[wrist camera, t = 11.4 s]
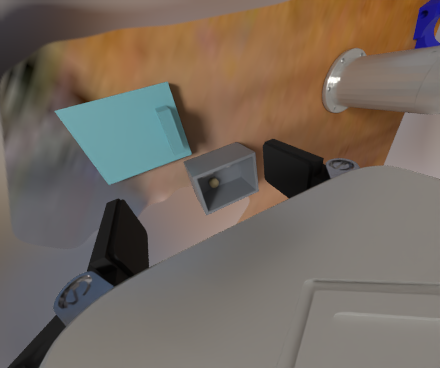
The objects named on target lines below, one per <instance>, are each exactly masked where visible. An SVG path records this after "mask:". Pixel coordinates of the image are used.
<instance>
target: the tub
mask: <svg viewBox="0 0 440 368" xmlns="http://www.w3.org/2000/svg"><path fill="white" fill-rule="evenodd" d="M184 165H185V168H186V170H187V173H188V176H189V178H190V181H191V184H192V186H193V189H194V192H195V194H196V197H197V199H198V201H199V202H200V204H201V206H202V208H203V210H204V212H205V214H206V215H208V214H211V213H212V212H215V211H217V210H219V209H221V208H223V207H225V206H228V205H230V204H232V203H234V202H236V201H239V200H241V199H243V198H245V197H247V196H249V195H251V194H254V193H256V192H258V191H259V189H258V178H257V167H256V156H255V152H254V151H252V150H250V149H249V148H247V147H245V146H243V145H241V144H240V143H238V142H235V143H233V144H230V145H227V146H225V147H222V148H219V149H217V150H214V151H211V152H209V153H206V154H203V155H201V156H198V157H195V158H192V159H190V160H187V161H184Z"/></svg>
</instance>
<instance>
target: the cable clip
mask: <svg viewBox="0 0 440 368" xmlns="http://www.w3.org/2000/svg"><path fill="white" fill-rule="evenodd" d="M439 17H440V0H430V1H429V2H428V3H426V4H425V5H423V6H422V7H421V8H420V10H419V14H418V19H417V24H416V29H415V33H414V38H413V39H417V42H416V46H415V49H419V48H426V47H433V46H440V43H439V42H438V41H436V39H435V37H434V27H435V24H436V22H437V20H438V19H439Z"/></svg>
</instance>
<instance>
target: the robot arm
mask: <svg viewBox="0 0 440 368" xmlns="http://www.w3.org/2000/svg"><path fill="white" fill-rule="evenodd" d="M322 99H323V104H324V107H325V108H326V110H328V111H329V112H333V113H339V112H342V111H344V110H345V109H347V108H348V107H355V108H365V109H376V110H387V111H397V112H408V113H419V114H440V46H433V47H426V48H419V49H412V50H405V51H397V52H390V53H383V54H376V55H368V56H366V54H365V52H364V51H363V50H362V49H359V48H355V49H350V50H347V51H345V52H344V53H342V54H341V55H340V56H339V57H338V58H337V59H336V60H335V62H334V63H333V65H332V66H331V68H330V70H329V72H328V74H327V76H326V79H325V82H324V86H323V92H322ZM263 159H264V175H265V180H266V181H267V182H268V183H269V184H271V185H272V186H273V187H275V188H276V189H277V190H279V191H280V192H281V193H283V194H284V195H285V196H287V197H288V198H289V199H287V200H285V201H283V202H281V203H279V204H277V205H275V206H273V207H271V208H269V209H267V210H264V211H262V212H260V213H258V214H256V215H254V216H252V217H250V218H248V219H246V220H244V221H242V222H240V223H238V224H236V225H234V226H232V227H230V228H228V229H226V230H224V231H222V232H219V233H218V234H215V235H213V236H211V237H209V238H207V239H206V240H203V241H202V242H199V243H197V244H195V245H193V246H191V247H189V248H187V249H185V250H183V251H181V252H179V253H177V254H175V255H173V256H171V257H169V258H167V259H165V260H163V261H161V262H159V263H157V264H155V265H153V266H151V267H149V259H148V237H147V232H146V230H145V228H144V227H143V226H142V224H141V223H140V221H139V220H138V218H137V217H136V216H135V214H134V213H133V211H132V210H131V209H130V207H129V206H128V204H127V203H126V202H125V200H120V199H116V200H113V201H111V202H108V203H107V204H106V208H105V211H104V215H103V218H102V221H101V225H100V228H99V232H98V235H97V239H96V242H95V245H94V249H93V252H92V255H91V259H90V262H89V266H88V269H87V272H84V273H82V274H79V275H78V276H76V277H74V278H73V279H72V280H71V281H69V282H68V283H67V284H66V285H65V286H64V287H63V288H62V290H61V291H60V292H59V294H58V296H57V297H56V299H55V301H54V305H53V309H54V312H55V313H56V316H55V317H54V318H53V319H52V320H51V321H50V322H49V324H47V326H46V327H45V328H44V329H43V330H42V331H41V332H40V333H39V334H38V335H37V336H36V338H34V340H33V341H32V342H31V343H30V344H29V345H28V346H27V347H26V348H25V349H24V351H23V352H22V353H21V354H20V355H19V356H18V357H17V358H16V359H15V360H14V361H13V362H12V364H11V365H10V366H9V367H8V368H440V179H438V178H434V177H431V176H428V175H424V174H421V173H417V172H414V171H410V170H406V169H402V168H399V167H394V166H371V167H365V168H360V167H359V166H358V164H357V163H356V162H354V161H352V160H349V159H343V158H336V159H331V160H329V161H327V162H326V165H325V164H323V159H324V158H321V157H319V156H316V155H314V154H311V153H309V152H306V151H304V150H301V149H298V148H296V147H293V146H291V145H288V144H286V143H283V142H280V141H278V140H275V139H271V140H269V141H266V142H265V143H264V145H263Z"/></svg>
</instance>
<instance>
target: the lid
mask: <svg viewBox="0 0 440 368" xmlns="http://www.w3.org/2000/svg"><path fill="white" fill-rule="evenodd" d="M55 112H56V114H57V115H58V117H59V118H60V119H61V121H62V122H63V123H64V125H65V126H66V127H67V129H68V130H69V131H70V133H71V134H72V136H73V137H74V138H75V140H76V141H77V142H78V144H79V145H80V146H81V148H82V149H83V150H84V152H85V153H86V155H87V156H88V157H89V159H90V160H91V161H92V163H93V164H94V165H95V167H96V168H97V169H98V171H99V172H100V173H101V175H102V176H103V178H104V179H105V180H106V182H107V183H108V184H109V185H110V184H113V183H116V182H118V181H121V180H124V179H126V178H129V177H132V176H135V175H137V174H140V173H143V172H145V171H148V170H151V169H153V168H156V167H159V166H162V165H164V164H167V163H170V162H172V161H175V160H178V159H181V158H183V157H186V156H189V155H191V154H192V153H191V150H190V147H189V144H188V141H187V138H186V135H185V132H184V129H183V126H182V123H181V120H180V117H179V114H178V112H177V109H176V106H175V103H174V100H173V97H172V94H171V91H170V88H169V85H168V82H164V83H160V84H157V85H153V86H149V87H145V88H141V89H137V90H133V91H130V92H126V93H122V94H118V95H114V96H110V97H106V98H102V99H99V100H95V101H91V102H87V103H83V104H79V105H75V106H72V107H68V108H64V109H60V110H57V111H55Z"/></svg>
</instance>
